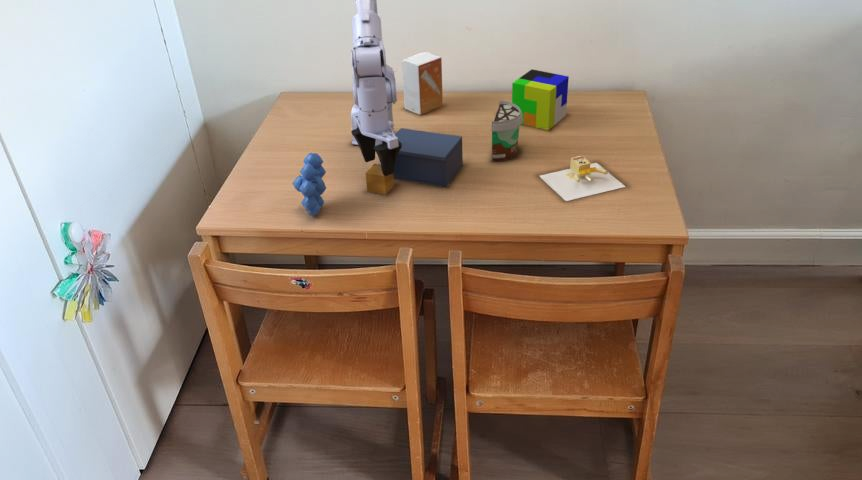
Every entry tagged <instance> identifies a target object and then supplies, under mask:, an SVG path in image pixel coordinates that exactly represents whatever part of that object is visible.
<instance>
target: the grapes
mask: <svg viewBox="0 0 862 480" xmlns="http://www.w3.org/2000/svg"><path fill="white" fill-rule="evenodd" d="M303 164H304V165H303V167H302V168H301V170H300V171H299V173H300V174H299V175H298V176H296V177H295V179H294V180H293V181H292V183H291V184H292V185H293V187H294V189H295V190H296V191H297V192H299V193H301V194H302V196H303V199H302V200H301V205H302V207H303V209H305V210H306V212H307V214H308V215H309V216H311V217H315V216H316V215H318V213H319V212H320V211H321V209H322V207H323V205H324V204H325V200H324V198H323V197H322V195H323V194H324V193H325V191H326V190H327V186H326V182H324V179H323V177H324V176H325V175H326V173H327V171H326V169H325V168H324V167H323V164H324V160H323V158H322V157H321V156H320V155H319V153H315V152H314V153H313V152H310V153H308V154H307V155H306V156H305V158H304V159H303Z"/></svg>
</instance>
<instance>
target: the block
mask: <svg viewBox="0 0 862 480" xmlns="http://www.w3.org/2000/svg"><path fill="white" fill-rule="evenodd" d="M365 183H366V192H367V193H371V194H378V195H383V196H386V195H388V194H389V192H390V191H392V189H393V188H394V187H395V179H394V175H393V174H390V175H387V176H384V175H383V173H382V169H381V164H380V163H373V164H372V165H371V166H370V167H369V168H368V170H367V171H366V172H365Z"/></svg>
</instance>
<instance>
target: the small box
mask: <svg viewBox="0 0 862 480" xmlns="http://www.w3.org/2000/svg"><path fill="white" fill-rule="evenodd" d="M442 61H443V60H442V57H441V56H439V55H437V54H434V53H431V52H429V51H423V52H420V53H417V54H414V55H411V56H409V57H405V58H403V59H401V70H402V71H401V72H402V87H403V102H404V104H403V105H404V110H407V111H410V112H412V113H414V114H418V115H419V116H420V115H424V114H427V113H428V112H431V111H433V110H437V109H438V108H441V107H443V106H444V103H443V102H444V99H443V97H444V96H443V67H442V66H443V65H442V64H443V63H442Z"/></svg>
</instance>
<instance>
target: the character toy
mask: <svg viewBox="0 0 862 480" xmlns="http://www.w3.org/2000/svg"><path fill="white" fill-rule="evenodd" d="M591 164H592V163H591V162H590V161H589V160H588V159H587V158H586V157H585V156H583V154H582V155H578V156H574V157H571V158H570V163H569V165H570V166H569V168H568V169H569V170H570V171H571V172H572V173H573V174H574V175H573V178H574V180H575V181H576V182H577V183H580V182H581V177H585V178H586V179H587V180H588V181H589V182H591V181H592V178H591V177H589V176H588V175H590V174H592V173H599V174H603V175H605V176H606V175H607V174H608V173H609V171H608V170H607V169H605V168H604V167H602V166H601V167H602V168H601V167H596V166H593V167H591Z"/></svg>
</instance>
